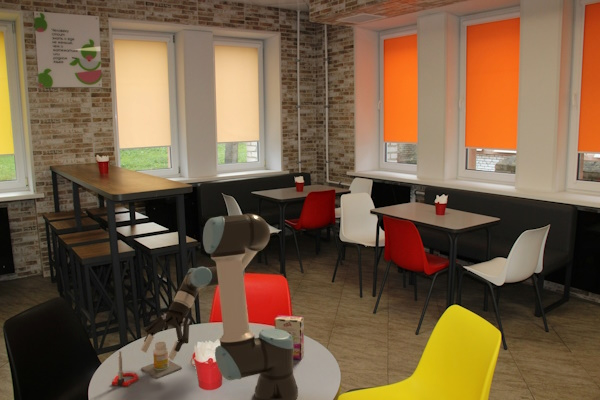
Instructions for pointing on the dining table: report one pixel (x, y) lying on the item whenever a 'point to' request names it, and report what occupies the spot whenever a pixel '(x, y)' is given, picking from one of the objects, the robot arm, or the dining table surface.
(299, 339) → the candy bar box
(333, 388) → the dining table surface
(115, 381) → the tow hook
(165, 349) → the supplement bottle
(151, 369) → the coaster
